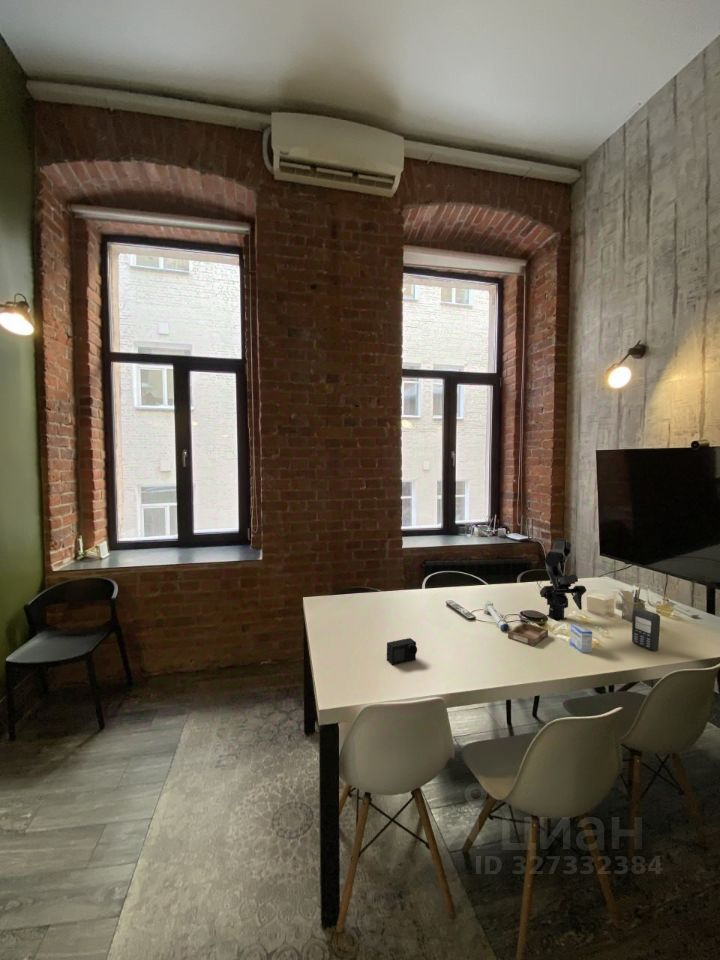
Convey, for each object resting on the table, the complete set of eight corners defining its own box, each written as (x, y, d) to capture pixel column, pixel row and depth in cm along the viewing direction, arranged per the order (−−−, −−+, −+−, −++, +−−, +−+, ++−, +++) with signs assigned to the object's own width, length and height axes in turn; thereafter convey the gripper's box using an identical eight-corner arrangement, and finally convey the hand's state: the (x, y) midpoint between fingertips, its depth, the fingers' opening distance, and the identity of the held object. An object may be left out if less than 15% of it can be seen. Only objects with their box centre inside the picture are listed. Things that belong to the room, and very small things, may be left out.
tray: (523, 628, 183) (523, 622, 183) (547, 636, 175) (548, 629, 175) (507, 638, 173) (507, 631, 172) (533, 646, 165) (533, 639, 165)
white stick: (499, 623, 179) (482, 597, 204) (498, 637, 180) (481, 609, 205) (511, 623, 179) (492, 597, 204) (510, 637, 180) (491, 609, 205)
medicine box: (569, 644, 168) (570, 623, 168) (579, 644, 168) (580, 623, 168) (581, 653, 160) (582, 631, 160) (591, 652, 160) (592, 631, 160)
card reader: (629, 643, 170) (631, 608, 169) (636, 641, 172) (637, 606, 171) (653, 652, 162) (654, 615, 161) (659, 650, 163) (660, 614, 163)
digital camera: (393, 667, 146) (394, 648, 146) (386, 660, 151) (386, 642, 151) (417, 661, 151) (418, 643, 151) (409, 655, 156) (410, 637, 156)
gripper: (544, 567, 175) (558, 601, 164) (584, 567, 176) (601, 600, 166) (534, 580, 183) (546, 613, 172) (573, 580, 185) (587, 612, 174)
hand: (570, 609), depth 171 cm, fingers open, 9 cm apart
